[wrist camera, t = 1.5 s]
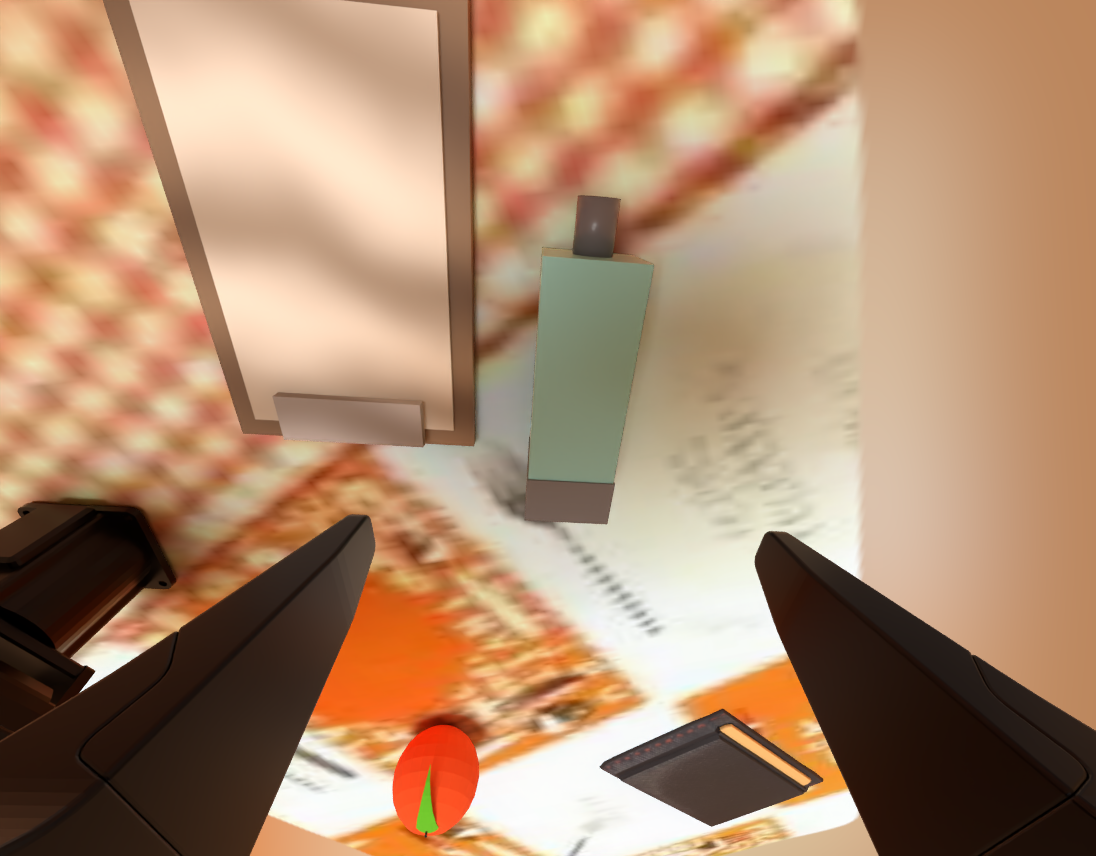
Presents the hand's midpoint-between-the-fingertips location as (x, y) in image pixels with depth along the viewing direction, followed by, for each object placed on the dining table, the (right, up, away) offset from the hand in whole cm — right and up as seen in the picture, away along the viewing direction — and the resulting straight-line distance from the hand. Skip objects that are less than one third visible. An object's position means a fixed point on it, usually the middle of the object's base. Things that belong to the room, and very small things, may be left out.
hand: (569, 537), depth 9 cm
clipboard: (-10, +10, +8) cm, 16 cm away
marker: (+1, +5, +11) cm, 12 cm away
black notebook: (+17, -33, +33) cm, 49 cm away
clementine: (-10, -24, +27) cm, 38 cm away
